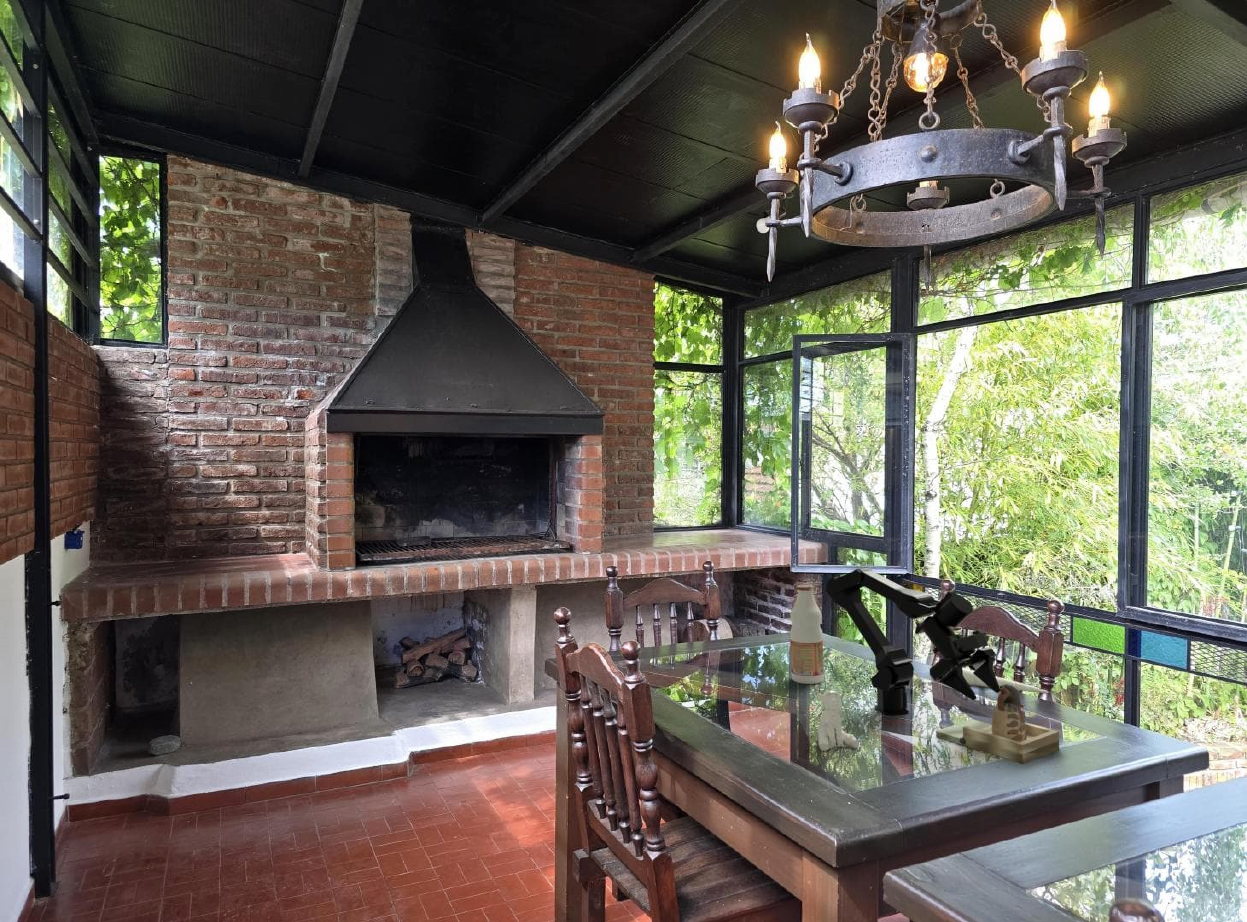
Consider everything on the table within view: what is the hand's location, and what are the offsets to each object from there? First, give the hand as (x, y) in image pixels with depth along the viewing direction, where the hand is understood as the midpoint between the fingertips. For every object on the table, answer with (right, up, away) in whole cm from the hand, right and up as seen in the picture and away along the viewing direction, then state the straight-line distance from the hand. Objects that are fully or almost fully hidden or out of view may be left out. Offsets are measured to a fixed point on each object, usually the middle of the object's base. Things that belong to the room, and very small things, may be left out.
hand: (987, 695), depth 179 cm
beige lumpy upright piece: (-35, -11, +1) cm, 37 cm away
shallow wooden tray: (+1, -10, -2) cm, 10 cm away
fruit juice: (-29, -11, +53) cm, 61 cm away
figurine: (+3, -8, -4) cm, 10 cm away
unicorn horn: (+22, -10, +41) cm, 48 cm away
